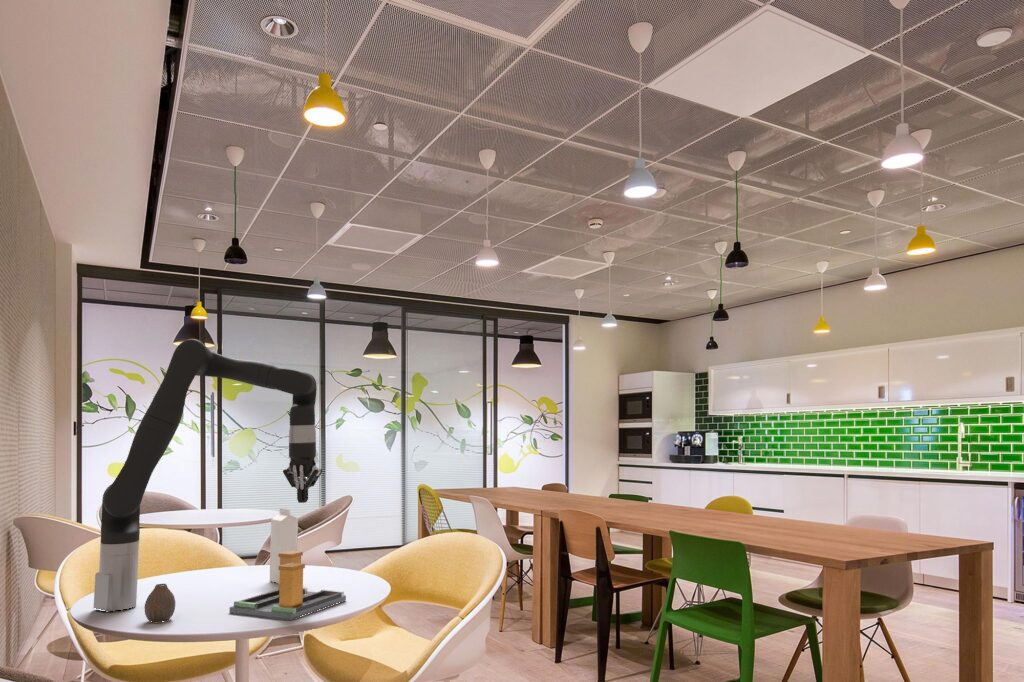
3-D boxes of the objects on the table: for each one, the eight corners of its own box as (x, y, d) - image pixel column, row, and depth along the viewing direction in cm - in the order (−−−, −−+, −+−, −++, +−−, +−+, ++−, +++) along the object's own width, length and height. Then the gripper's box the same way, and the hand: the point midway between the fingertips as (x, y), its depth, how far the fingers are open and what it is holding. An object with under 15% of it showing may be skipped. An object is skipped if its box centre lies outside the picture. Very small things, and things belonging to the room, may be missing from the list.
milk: (279, 584, 224) (280, 510, 226) (269, 581, 228) (270, 509, 230) (297, 580, 229) (298, 508, 231) (286, 578, 233) (288, 507, 235)
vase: (179, 617, 186) (180, 581, 187) (167, 624, 180) (169, 587, 180) (151, 617, 186) (153, 581, 187) (138, 624, 179) (140, 587, 180)
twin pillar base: (290, 620, 181) (291, 568, 183) (229, 613, 190) (231, 563, 191) (345, 601, 201) (346, 554, 203) (288, 594, 210) (289, 549, 211)
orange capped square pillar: (290, 595, 201) (291, 554, 203) (277, 594, 203) (278, 553, 205) (301, 592, 206) (302, 551, 207) (288, 590, 208) (289, 550, 209)
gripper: (329, 440, 213) (329, 501, 211) (293, 441, 218) (293, 500, 217) (311, 441, 206) (312, 504, 204) (275, 442, 212) (275, 503, 210)
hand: (302, 502), depth 210 cm, fingers closed
